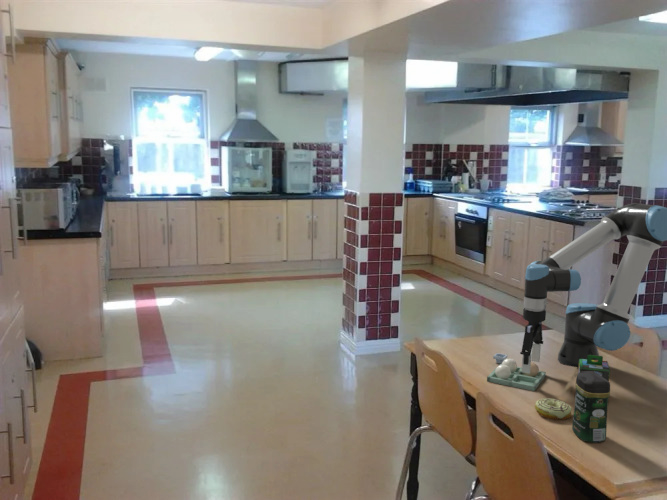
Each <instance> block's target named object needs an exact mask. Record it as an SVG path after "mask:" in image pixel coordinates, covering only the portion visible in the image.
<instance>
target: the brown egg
mask: <svg viewBox="0 0 667 500" xmlns="http://www.w3.org/2000/svg"><path fill="white" fill-rule="evenodd" d="M539 371H540V369H539V366H538V365H537V363H536V362H534V361H531V368H530V374H529V373H524V374H525V375H526V376H530V377H535V376H537V375H538V373H539Z"/></svg>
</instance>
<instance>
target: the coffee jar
mask: <svg viewBox="0 0 667 500" xmlns="http://www.w3.org/2000/svg"><path fill="white" fill-rule="evenodd" d="M610 395H611V382H610V380H609V381H607V380H606V379H605V378H603V377H602V376H600V375H599V374H597V373H595V372H594V371H581V372H580V373H579V374H578V373H577V375H576V378H575V398H574V408H573V417H572V425H571V429H572V431H573V432H574V434H575V435H576V436H577V438H579V439H581V441H583V442H589V443H594V444H596V443H602V442H604V441H605V440H606V439H607V428H608V427H607V422H608V421H607V420H608V405H609V404H608V403H609V397H610Z"/></svg>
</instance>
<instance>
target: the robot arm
mask: <svg viewBox="0 0 667 500" xmlns="http://www.w3.org/2000/svg"><path fill="white" fill-rule="evenodd" d="M624 236H626V237H627V240H628V242H627V243H628V244H627V246H626V249H625V251H624V253H623V256H622V257H621V260H620V263H619V265H618V267H617V270H616V272H615V274H614V276H613V279H612V281H611V283H610V286H609V288H608V290H607V293H606V294H605V297H604V300H603V302H602V303H601V304H597V303H596V304H595V303H586V302H580V303H579V302H577V303H576V302H575V303H570V304H568V305H567V306H566V310H565V322H564V337H563V342H562V345H561V347H560V349H559V351H558V354H557V361H558V362H559V363H560V364H562V365H564V366H568V367H573V368H577V369H579V359H587V357H588V355H598V356H600V353H599V350H598V348H600V349H602V350H606V351H609V352H610V351H611V352H612V351H613V352H615V351H618V350H619V349H622V348H623V347H624V346H625V345H626V344H627V343H628V342H629V340H630V337H631V329H630V326H629V325H628V324H629V322H630V316H629V314H628V313H629V309H630V307H631V304H632V302H633V300H634V298H635V296H636V293H637V291H638V288H639V287H640V284H641V283H642V279H643V277H644V275H645V272H646V270H647V267H648V265H649V263H650V260H651V259H652V256H653V254H654V252H655V251H656V250H659V249H660V248H661V247H662V245H663V243H664V242H665V241H666V242H667V207H666V206H665V207H664V206H661V205H658V204H655V205H654V204H645V203H641V202H639V203H638V202H632V203H628V204H626V205H622V206H621V207H618V208H617V209H615V210H613V211H612V212H610V213H608V214H607V215H605V216H603V217H602V218H601V220H600V223H598V224H597V225H595V226H593V227H592V228H590V229H589V230H587V231H586V232H584V233H583V234H582V235H580V236H578V237H577V238H575V239H574V240H572V241H571V242H569V243H568V244H566V245H565V246H563V247H562V248H561V249H559V250H557V251H556V252H554V253H552V254H551V255H549V256H548V257H547V258H546V259H544V260H535V261H533V262H531V263H530V264H528V265H527V266H526V270H525V275H524V276H525V277H524V280H525V281H524V295H523V311H522V318H523V320H525V321H527V322H528V324H526V325H525V327H524V335H523V340H522V341H523V342H522V346H521V351H520V352H519V353H520V354H519V355H522V362H521V363H522V364H521V367H522V372H523V373H529V374H530V368H531V362H534V363H536V362H537V363H540V360H541V349H542V347H541V346H542V345H544V340H543V339H544V338H543V324H542V323H543V322H545V321H546V314H547V311H546V309H547V304H549V301H548V300H547V298H548V293H550V292H551V293H552V292H568V293H569V292H572V291H578V289H579V288H580V287H581V285H582V277H581V273H580V272H579V271H578V270H576V269H571V268H572V267H574V266H575V265H576V264H578V263H579V262H581V261H582V260H584V259H585V258H587V257H588V256H589V255H592V254H593V253H594V252H596V251H597V250H599V249H601V248H602V247H604V246H605V245H607V244H608V243H610V242H611V241H612V240H619V239H621V238H622V237H624ZM591 360H598V359H597V358H592V359H591Z"/></svg>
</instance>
